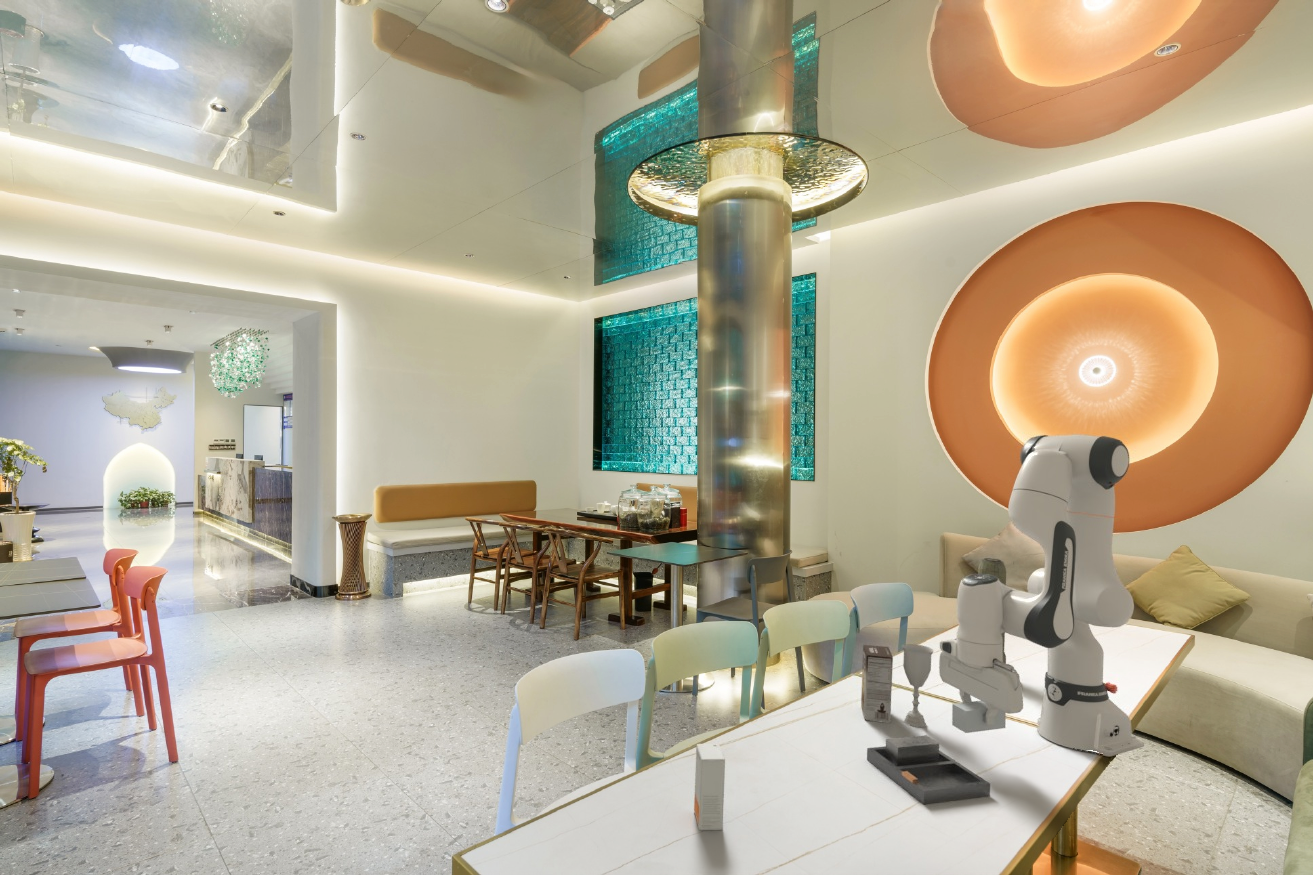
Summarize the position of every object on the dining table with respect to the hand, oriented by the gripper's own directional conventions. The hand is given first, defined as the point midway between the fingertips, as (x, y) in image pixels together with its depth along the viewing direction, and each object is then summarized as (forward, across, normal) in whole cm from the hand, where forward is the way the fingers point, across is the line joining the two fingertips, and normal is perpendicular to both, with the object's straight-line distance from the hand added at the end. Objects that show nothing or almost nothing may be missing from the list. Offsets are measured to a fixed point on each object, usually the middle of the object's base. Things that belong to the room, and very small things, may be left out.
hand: (978, 718), depth 139 cm
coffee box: (+10, +28, +6) cm, 30 cm away
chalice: (+10, +22, -1) cm, 24 cm away
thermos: (+11, +48, -47) cm, 68 cm away
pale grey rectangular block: (+2, 0, 0) cm, 2 cm away
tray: (+9, -2, +15) cm, 18 cm away
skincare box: (+8, -8, +64) cm, 65 cm away
